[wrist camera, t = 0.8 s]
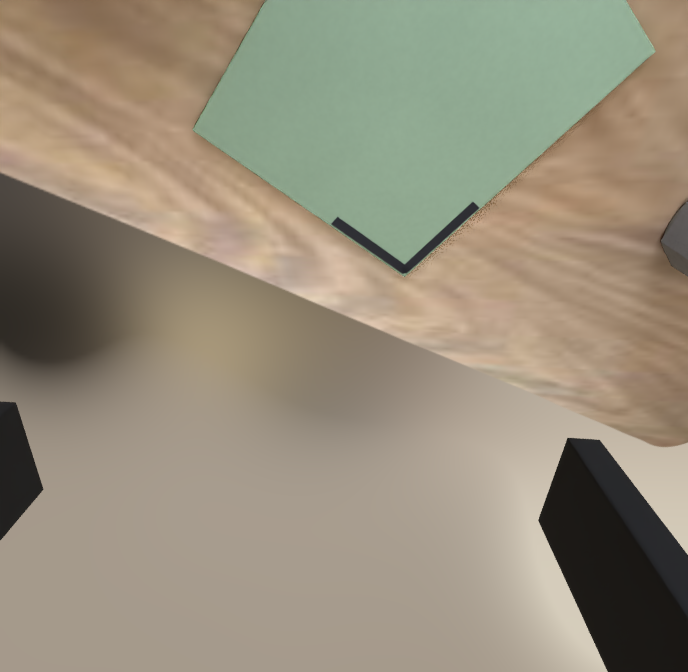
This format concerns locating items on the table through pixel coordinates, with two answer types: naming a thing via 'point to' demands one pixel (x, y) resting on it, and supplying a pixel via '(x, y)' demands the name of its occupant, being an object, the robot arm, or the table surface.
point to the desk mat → (412, 105)
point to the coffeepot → (677, 240)
